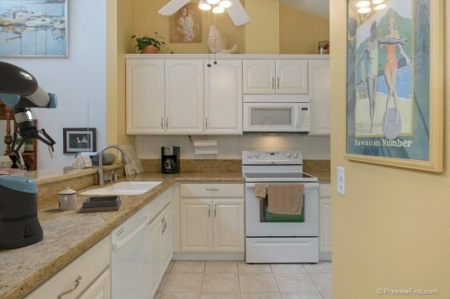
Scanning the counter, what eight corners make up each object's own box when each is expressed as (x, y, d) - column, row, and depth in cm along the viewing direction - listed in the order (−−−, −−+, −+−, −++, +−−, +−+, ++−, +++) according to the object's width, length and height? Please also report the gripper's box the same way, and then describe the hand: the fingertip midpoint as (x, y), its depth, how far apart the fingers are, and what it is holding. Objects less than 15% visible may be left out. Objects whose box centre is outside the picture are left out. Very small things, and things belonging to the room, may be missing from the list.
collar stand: (118, 210, 149) (118, 201, 149) (80, 213, 144) (80, 203, 144) (121, 203, 168) (121, 194, 168) (88, 205, 163) (88, 196, 163)
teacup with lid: (59, 207, 157) (59, 186, 157) (78, 206, 160) (77, 185, 160) (55, 212, 146) (55, 189, 145) (75, 210, 149) (74, 188, 149)
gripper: (50, 120, 156) (62, 156, 157) (-6, 127, 139) (8, 169, 139) (54, 116, 151) (66, 154, 152) (-4, 124, 133) (10, 166, 134)
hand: (38, 161), depth 146 cm, fingers open, 13 cm apart
